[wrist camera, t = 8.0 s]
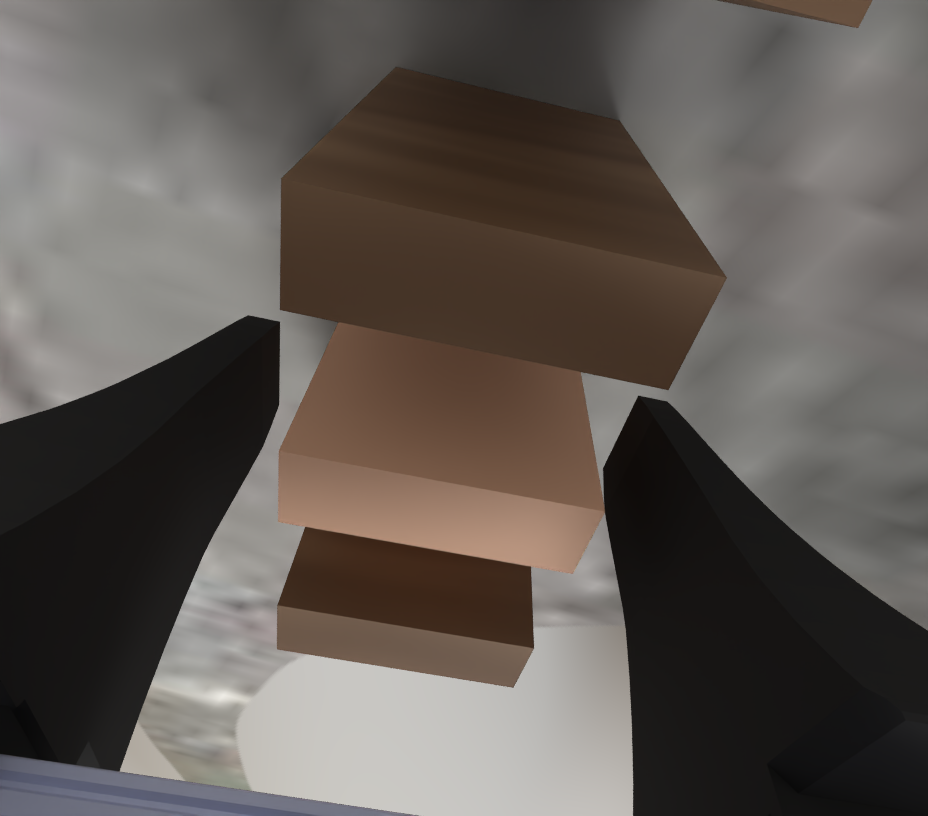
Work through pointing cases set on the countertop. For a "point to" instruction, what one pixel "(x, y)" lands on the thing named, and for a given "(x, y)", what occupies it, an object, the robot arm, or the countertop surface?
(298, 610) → the domino
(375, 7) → the countertop surface
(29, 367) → the countertop surface
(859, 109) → the countertop surface
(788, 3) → the domino
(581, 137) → the domino
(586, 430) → the domino
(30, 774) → the robot arm
